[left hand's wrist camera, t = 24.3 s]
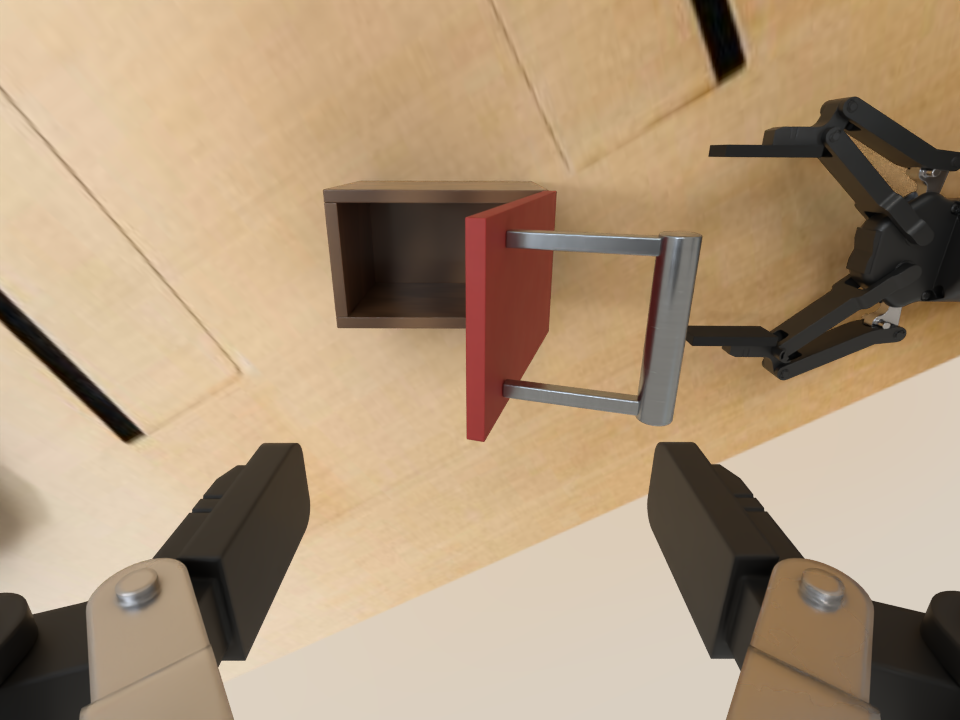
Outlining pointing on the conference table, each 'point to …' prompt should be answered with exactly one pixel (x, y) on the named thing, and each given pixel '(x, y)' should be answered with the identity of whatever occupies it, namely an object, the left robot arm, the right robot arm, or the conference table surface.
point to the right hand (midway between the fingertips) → (700, 249)
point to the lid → (526, 309)
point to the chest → (406, 248)
